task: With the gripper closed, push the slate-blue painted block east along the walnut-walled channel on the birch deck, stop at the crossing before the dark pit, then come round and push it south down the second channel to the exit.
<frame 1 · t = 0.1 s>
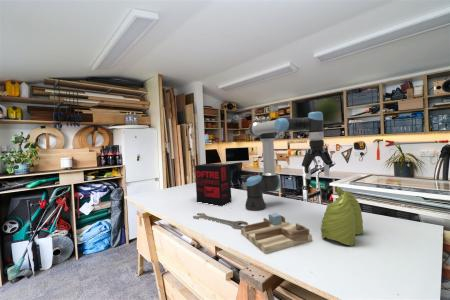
hand: (317, 177, 121), 28 cm above the workbench, fingers open, 13 cm apart
lungs: (342, 236, 110), on the workbench
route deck: (274, 236, 112), on the workbench
block: (275, 223, 122), point 3 cm above the workbench, touching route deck
product box: (214, 202, 184), on the workbench
wrench: (218, 222, 139), on the workbench
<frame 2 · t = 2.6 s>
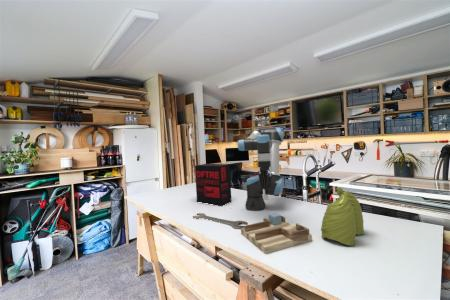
hand: (265, 199, 130), 15 cm above the workbench, fingers closed
nothing on the workbench moved.
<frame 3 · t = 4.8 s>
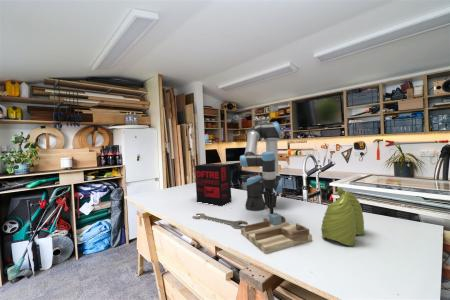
hand: (270, 218, 126), 5 cm above the workbench, fingers closed
block: (275, 223, 122), point 3 cm above the workbench, touching gripper, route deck
everything else where it was.
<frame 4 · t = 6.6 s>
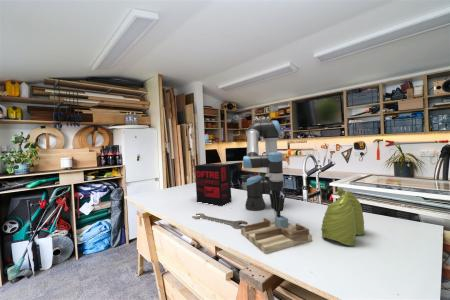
hand: (277, 222, 120), 5 cm above the workbench, fingers closed
block: (281, 227, 117), point 3 cm above the workbench, touching gripper, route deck
everything else where it was.
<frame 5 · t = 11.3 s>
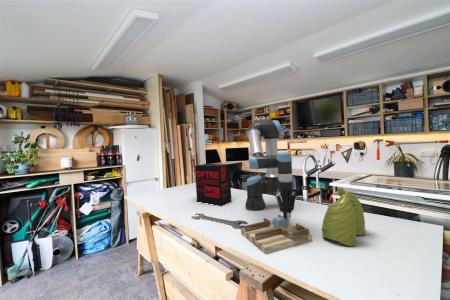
hand: (287, 224, 117), 5 cm above the workbench, fingers closed
block: (280, 227, 116), point 3 cm above the workbench, touching gripper
everything else where it was.
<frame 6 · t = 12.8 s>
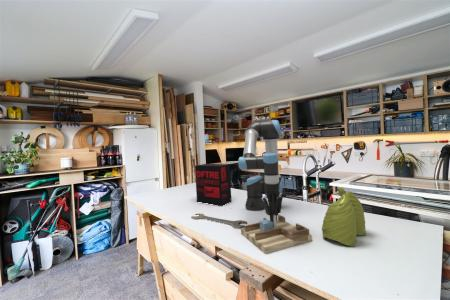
hand: (274, 227, 114), 5 cm above the workbench, fingers closed
block: (266, 230, 113), point 3 cm above the workbench, touching gripper
everything else where it was.
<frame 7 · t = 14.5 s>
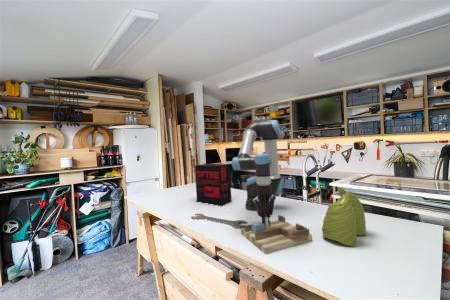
hand: (266, 229, 112), 5 cm above the workbench, fingers closed
block: (258, 232, 111), point 3 cm above the workbench, touching gripper, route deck
everything else where it was.
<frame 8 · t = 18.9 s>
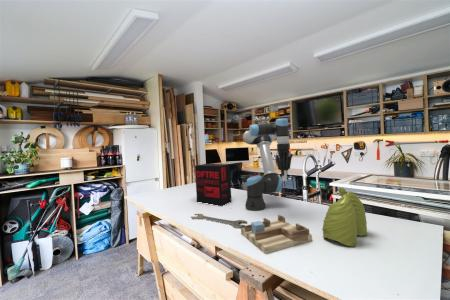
hand: (284, 180, 136), 24 cm above the workbench, fingers closed
block: (258, 232, 111), point 3 cm above the workbench, touching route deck
at the end: block inside the target area (0.9 cm from its centre), point 3.0 cm above the workbench; block tilted 0° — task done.
